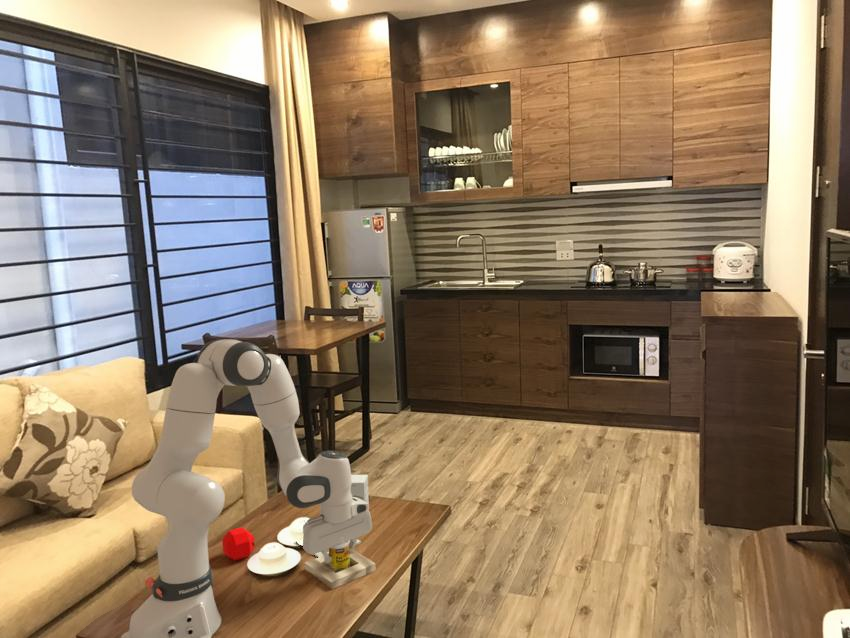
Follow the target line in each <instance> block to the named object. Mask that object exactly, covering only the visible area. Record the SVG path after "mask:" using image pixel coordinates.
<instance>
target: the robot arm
mask: <svg viewBox="0 0 850 638" xmlns="http://www.w3.org/2000/svg"><path fill="white" fill-rule="evenodd" d="M225 386H230V387H231V386H233V387H234V386H235V387H240V388H244V387H245V388H247V389H248V391H249V392H250V397H251V400H252V404H253V407H254V410H255V412H256V414H257V417H258V419H259V421H260V422H261V424H262V426H263V427H264V428H265V429H266V430H267V431H268V432H269V434H270V436H271V439H272V443H273V446H274V449H275V453H276V456H277V459H278V465H277V472H276V479H277V483H278V485H279V486H280V488H281V490H282V491H283V493H284V495H285V497H286V499H287V501H288V502H289V503H290V505H291V506H293V507H295V508H297V509H307V508H310V507H311V508H312V507H314V506H316V505H319V513H320V515H317V516H315V517H313V518H309V519H307V521H306V522H305V523H304V524H303V527H302V531H303V537H302V538H303V547H302V549H303V550H304V551H305V552H306V553H307V554H309V555H312V556H314V555H313V554H316V553H318V552H321V553H322V554H323V555H324V560H325V562H326V563H327V564H328V563H331V562H332V556H331V555H330V554H327V552H328V549H329V548H331V547H334V546H336V545H339V544H341V543H340V538H341V537H344V542H347V541H349V540H350V542H349V555H350V554H353V553H354V550H355V546H356V545H355V544H356V542H357V539H358V538H360V537H362V536H365V535H367V534H369V533H370V532H371V531H372V528H373V524H372V521H373V520H372V516H371V513H370V503H369V504H368V503H367V502H365V501H363V500H361V499H359V498H357V497H352V494H351V484H352V481H351V475H352V471H351V464H350V460H349V458H348V457H347V456H346V455H345V454H344V453H342V452H340V451H337V450H325V451H321V452H320V453H319V454H318V456H317V457H316V458H315V459H313V460H311V462H310V461H309V460H308V459H307V458H306V457H305V455H303V453H302V451H301V447H300V445H299V441H298V438H297V433H296V430H295V429H296V428H295V424H296V422H298V421H297V420H298V419H299V416H300V413H301V412H300V404H299V398H298V395H297V389H296V387H295V384H294V381H293V379H292V377H291V375H290V372H289V370H288V368H287V366H286V364H285V361H284V360H283V359H282V358H281V356H279V355H277V354H273V353H265V352H264V351H263V350H262V349H261V348H260V347H259V346H258V345H256V344H255V343H254V344H253V343H251V342H248V341H241V340H238V339H232V338H231V339H228V338H227V339H220V338H219V339H215V340H214V339H213V340H211V341H209V342H207V343H205V344H204V345H203V346H202V348H200V350H199V352H198V354H197V356H196V357H195V358H194V360H193V361H192V362H191V363H185V364H183V365H181V366H180V367H179V368H178V369H177V370H176V372H175V375H174V376H173V380H172V381H171V386H170V388H169V393H168V397H167V402H166V406H165V413H164V417H163V424H162V427H161V428H162V429H161V435H160V438H159V442H158V444H157V447H156V449H155V451H154V454H153V456H152V458H151V460H150V461H149V462H148V463H147V465H146V466H145V467H144V468H142V469H141V470H140V471H139V472H137V474H136V475H135V477H134V479H133V481H132V485H131V495H132V498H133V500H134V501H135V502H136V503H137V504H138V505H140V506H141V507H142V508H144V509H145V510H146V511H148V512H150V513H153V514H156V515H160V516H163V517H165V519H166V520H167V523H168V524H167V525H168V527H167V531H166V532H167V533H166V534H165V535H164V536H163V537H161V539H160V540H159V541H158V543H157V547H156V549H157V559H158V568H159V569H158V570H159V575H158V577H157V578H156V580H155V579H154V578H153V577H151V576H149V577H147V578H146V579H145V580H144V581H145V582H144V584H145V585H146V587H147V588H148V589H152V594H151V595H150V596H149V597H148V598H147V599H146V600H145V601H144V602H143V603H142V604H141V605H140V606H139V607H138V608H137V609H136V610H135V611H134V612H133V613H132V615H131V617H130V621H129V630H128V631H126V632H124V633H123V634H121V636H120V638H212V636H213V635H214V633H216V632H217V630H218V629H220V626H221V624H222V616H221V614H220V613H219V610H218V607H217V604H216V601H215V596H214V591H213V588H214V577H213V576H214V575H213V570H212V566H211V564H210V561H209V559H210V558H209V540H208V538H209V537H208V536H209V531H210V527H211V524H212V523H213V522H214V521H215V520H216V519H217V518H218V517H219V516H220V515H221V512H222V511H223V508H224V507H225V502H226V500H225V499H226V495H225V490H224V489H223V487H222V485H221V484H219V483H218V482H216V481H214V480H213V479H212V478H210V477H209V476H207V475H204V474H201V473H196V472H192V469H193V466H194V463H195V461H196V459H197V457H199V455H200V454H201V453H203V452H205V451H206V450H207V449H208V447H210V445H211V442H212V434H213V428H214V423H215V422H214V421H215V415H216V409H217V399H218V397H219V395H220V392H221V390H222V389H223V388H224V387H225ZM368 509H369V511H368ZM344 542H342V543H344Z"/></svg>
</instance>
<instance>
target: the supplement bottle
mask: <svg viewBox="0 0 850 638" xmlns="http://www.w3.org/2000/svg"><path fill="white" fill-rule="evenodd" d="M342 542H344V537H341V538H340V543H341V544H339V545H336V546H334V547H331V548H329V554H330V555H331V556H332V562H331V563H329V564H330V566H329V569H330V570H332V571H333V572H334V573H337V572H340V571H342V570H344V569H347V568H349V567H351V564H350V557H349V542H348V541H347V542H344V543H342Z"/></svg>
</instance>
